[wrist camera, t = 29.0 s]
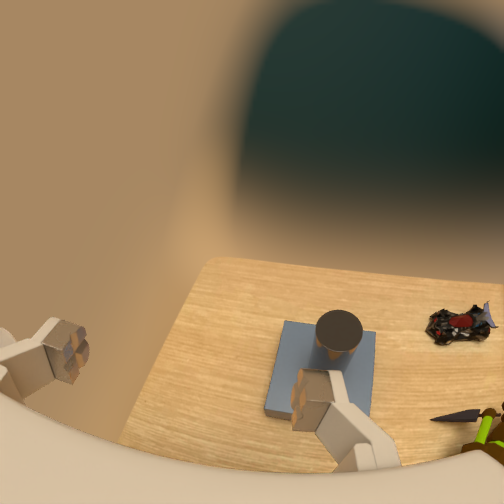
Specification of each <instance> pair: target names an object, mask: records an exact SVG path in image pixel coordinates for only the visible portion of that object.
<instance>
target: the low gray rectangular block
mask: <svg viewBox="0 0 504 504" xmlns="http://www.w3.org/2000/svg"><path fill="white" fill-rule="evenodd" d="M315 328H316V325H314V324H306V323H299V322H292V321H284V326H283V330H282V335H281V339H280V344H279V348H278V352H277V357H276V361H275V365H274V369H273V374H272V378H271V382H270V386H269V390H268V394H267V398H266V402H265V406H264V411H265V415H266V416H269V417H275V418H280V419H286V420H292V417H291V416H292V414H293V412H294V410H293V409H292V408H291V393H292V388H293V386H294V383H296V382H297V381H298V379H297V375H298V372H299V370H300V369H301V368H305V369H308V364H309V359H310V354H311V349H312V344H313V339H314V334H315ZM375 336H376V332H372V331H363V336H362V339H361V341H360V343H359V346H358V348H357V350H356V352H355V354H354V356H353V358H352V360H351V362H350V364H349V366H348V368H347V370H346V372H345V374H344V376H343V379H344V383H345V387H346V390H347V394H348V398H349V402H350V403H354V404H355V405H356V406H357V407H358V408H359V409H360V410H361V411H362V412H364V413H365V414H366V415H367V416H368V417H369V415H370V406H371V397H372V386H373V373H374V358H375Z"/></svg>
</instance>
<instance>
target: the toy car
mask: <svg viewBox="0 0 504 504" xmlns="http://www.w3.org/2000/svg"><path fill="white" fill-rule="evenodd" d="M489 301H490V300H489ZM430 317H431V318H432V321H430V323H429V325H428V327H427V329H426V331H427V332H428V333H429V334H431V335H432V336H435V337H436V338H437V339H436V342H438V343H439V344H444V345H447V344H450V343H451V342H452V341H463V340H476V339H478V340H479V341H481V340H484V339H486V338H487V337H488V336H489V334H490V327H491V328H498V327H499V326H498V327H496V326H495V324H494V322H493V320H492V318H491V315H490V312H489V305H488V303H487V302H486V303H485V304H484V308H483V309H481V308H479V307H477V305H473V307H472V308H471V309H470V311H468V312H466V314H463V313H462V314H460V315H458V314H455V313H452V312H449V311H448V310H444V309H442V310H440V311H438V312H435V313H434V314H432V315H431V316H430Z"/></svg>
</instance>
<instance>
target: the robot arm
mask: <svg viewBox="0 0 504 504" xmlns="http://www.w3.org/2000/svg"><path fill="white" fill-rule="evenodd" d="M85 336H86V331H85V328H84V327H82V326H79V325H77V324H74V323H70V322H68V321H65V320H61V319H58V318H56V317H51V318H49V319H48V320H47V321H46V323H45V324H44V325H43V326H42V327H41V328H40V329H39V331H37V333H36V334H35V335H34V336H33V337H32V338H31V339H29V338H28V339H24V340H22V341H19V342H16V343H14V344H11V345H8V346H6V347H3V348H0V504H504V466H503V465H502V464H500V463H499V462H498V461H496V460H495V459H494V458H492V457H491V456H490V455H488V454H487V453H485V452H483V451H482V450H473V451H469V452H465V453H461V454H458V455H454V456H450V457H446V458H441V459H437V460H432V461H428V462H423V463H417V464H412V465H406V466H402V465H401V462H400V458H399V455H398V451H397V448H396V445H395V441H394V440H393V439H392V438H391V437H390V436H389V435H388V434H387V433H386V432H384V431H383V430H382V429H381V428H380V427H379V426H378V425H377V424H376V423H375V422H373V421H372V420H371V419H370V418H369V417H368V416H367V415H366V414H365V413H364V412H362V411H361V410H360V409H359V408H358V407H357V406H356V405H355V404H354V403H350V402H349V398H348V394H347V390H346V387H345V383H344V379H343V375H342V372H341V371H336V370H318V369H305V368H301V369H300V370H299V372H298V375H297V379H298V381H297V382H296V383H294V386H293V388H292V393H291V408H292V409H293V410H294V412H293V414H292V416H291V417H292V431H305V432H315V434H316V436H317V437H318V438H319V440H320V441H321V442H322V444H323V445H324V446H325V448H326V449H327V450H328V452H329V453H330V454H331V456H332V457H333V458H334V459H335V461H336V462H337V463H338V466H337V468H336V469H335V470H334V471H333V472H332V473H279V472H263V471H251V470H241V469H232V468H224V467H217V466H211V465H204V464H199V463H193V462H188V461H183V460H178V459H173V458H169V457H164V456H160V455H156V454H152V453H148V452H144V451H141V450H137V449H134V448H130V447H127V446H123V445H120V444H117V443H114V442H111V441H108V440H105V439H102V438H99V437H96V436H94V435H91V434H88V433H85V432H82V431H80V430H78V429H75V428H73V427H70V426H68V425H65V424H63V423H61V422H58V421H56V420H54V419H52V418H50V417H47V416H45V415H43V414H41V413H39V412H37V411H35V410H33V409H31V408H29V407H27V406H26V405H25V403H24V401H23V399H24V398H26V397H27V396H29V395H31V394H32V393H34V392H36V391H37V390H39V389H41V388H42V387H44V386H45V385H47V384H49V383H51V382H52V381H54V380H55V379H58V380H60V381H63V382H66V383H69V384H72V385H73V383H74V382H75V380H76V378H77V377H78V375H79V374H80V373H79V368H81V367H83V366H85V364H86V362H87V360H88V357H89V345H88V343H87V341H86V340H85V339H84V338H85Z"/></svg>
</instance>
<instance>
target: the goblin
mask: <svg viewBox="0 0 504 504" xmlns="http://www.w3.org/2000/svg"><path fill="white" fill-rule="evenodd" d="M502 409H503V411H504V402H503V404H502ZM479 412H480V409H472V410H465V411H461V412H457V413H453V414H449V415H445V416H441V417H436V418H433V419H430V420H433V421H448V422H476V421H477V418H478V417H482V422H481V425H480V428H479V431H478V433H477V436H476V438H475V441H474V442H473V443H469V444H465V445H463V447H462V450H461V453H465V452H469V451H473V450H482V451H483V452H485V453H487V454H488V455H490V456H491V457H492V458H494V459H495V460H496V461H498V462H499V463H500V464H502V465H503V466H504V414H503V415H502V416H501V413H499V414H497V413H496V411H495V409H493V408H488V409H486V410H485V411H483V413H482V414H479ZM500 416H501V421H502V422H501V423H500V424H499V425H498V426H497V427H496V428H495V429H494V430H493V432H492V433H491V434H490V435H489V436H488V437H487V435H488V432H489V429H490V426H491V423H492V420H493V419H494V418H495V417H500ZM486 438H487V443H485V440H486Z"/></svg>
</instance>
